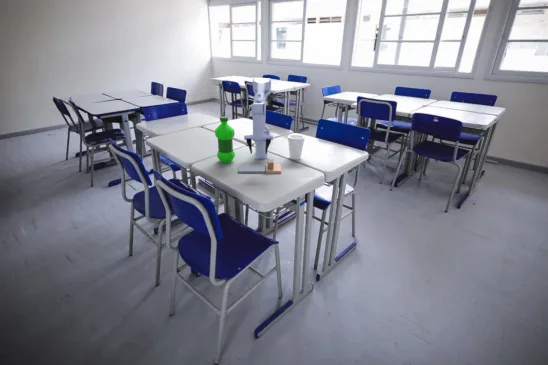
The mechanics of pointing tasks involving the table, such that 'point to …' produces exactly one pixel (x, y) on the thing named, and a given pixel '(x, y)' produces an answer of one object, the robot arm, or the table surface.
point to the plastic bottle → (225, 141)
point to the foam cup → (295, 146)
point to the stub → (272, 167)
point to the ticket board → (251, 168)
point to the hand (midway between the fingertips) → (258, 153)
